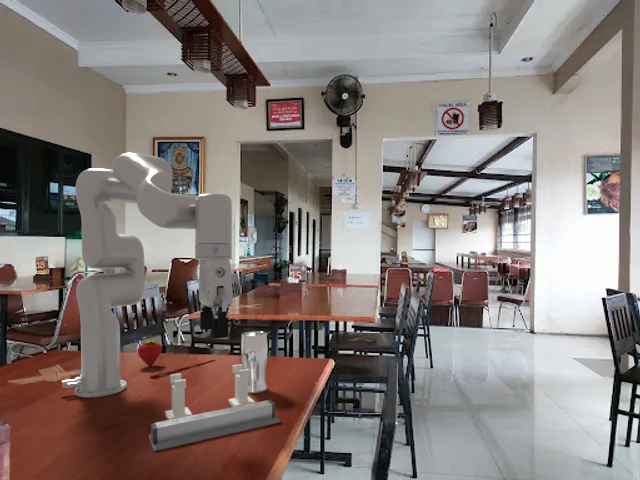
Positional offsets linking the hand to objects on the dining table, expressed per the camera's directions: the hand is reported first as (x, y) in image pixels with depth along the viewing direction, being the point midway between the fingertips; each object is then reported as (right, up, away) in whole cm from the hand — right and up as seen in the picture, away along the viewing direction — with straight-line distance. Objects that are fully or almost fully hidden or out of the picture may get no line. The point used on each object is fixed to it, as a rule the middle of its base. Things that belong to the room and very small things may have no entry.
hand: (213, 333), depth 93 cm
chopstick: (-20, -22, +47) cm, 55 cm away
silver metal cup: (+5, -21, +25) cm, 33 cm away
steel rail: (+1, -20, 0) cm, 20 cm away
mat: (+1, -20, -1) cm, 20 cm away
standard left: (-10, -20, +7) cm, 24 cm away
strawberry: (-33, -22, +50) cm, 64 cm away
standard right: (+3, -20, +15) cm, 25 cm away
